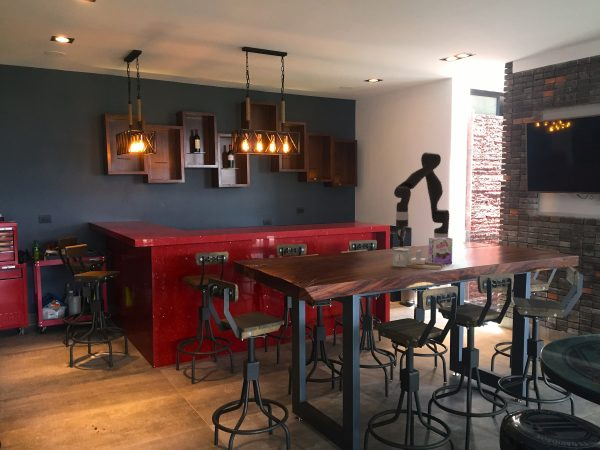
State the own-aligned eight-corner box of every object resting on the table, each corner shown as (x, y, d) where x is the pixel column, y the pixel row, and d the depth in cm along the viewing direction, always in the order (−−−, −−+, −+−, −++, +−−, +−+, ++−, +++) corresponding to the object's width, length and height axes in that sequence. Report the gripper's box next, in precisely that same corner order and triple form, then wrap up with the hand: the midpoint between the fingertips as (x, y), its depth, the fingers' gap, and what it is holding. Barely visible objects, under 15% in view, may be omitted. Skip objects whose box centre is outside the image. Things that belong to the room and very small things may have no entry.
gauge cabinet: (397, 263, 320) (397, 248, 320) (409, 264, 317) (410, 248, 316) (392, 266, 311) (393, 250, 310) (405, 267, 307) (405, 250, 307)
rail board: (409, 264, 317) (410, 259, 317) (443, 267, 308) (443, 262, 307) (405, 267, 308) (405, 262, 308) (439, 269, 299) (440, 264, 298)
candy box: (432, 264, 317) (432, 238, 316) (427, 263, 323) (428, 237, 321) (452, 263, 320) (452, 238, 318) (447, 262, 325) (448, 237, 324)
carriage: (413, 261, 315) (413, 249, 314) (426, 262, 311) (426, 250, 310) (410, 263, 307) (410, 251, 307) (423, 264, 304) (423, 251, 303)
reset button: (399, 255, 317) (399, 248, 316) (406, 255, 315) (406, 249, 314) (397, 256, 313) (397, 249, 312) (404, 256, 311) (404, 250, 310)
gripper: (405, 220, 304) (404, 248, 306) (410, 218, 316) (410, 245, 317) (393, 219, 308) (392, 247, 309) (399, 218, 319) (398, 245, 321)
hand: (401, 246), depth 313 cm, fingers closed
